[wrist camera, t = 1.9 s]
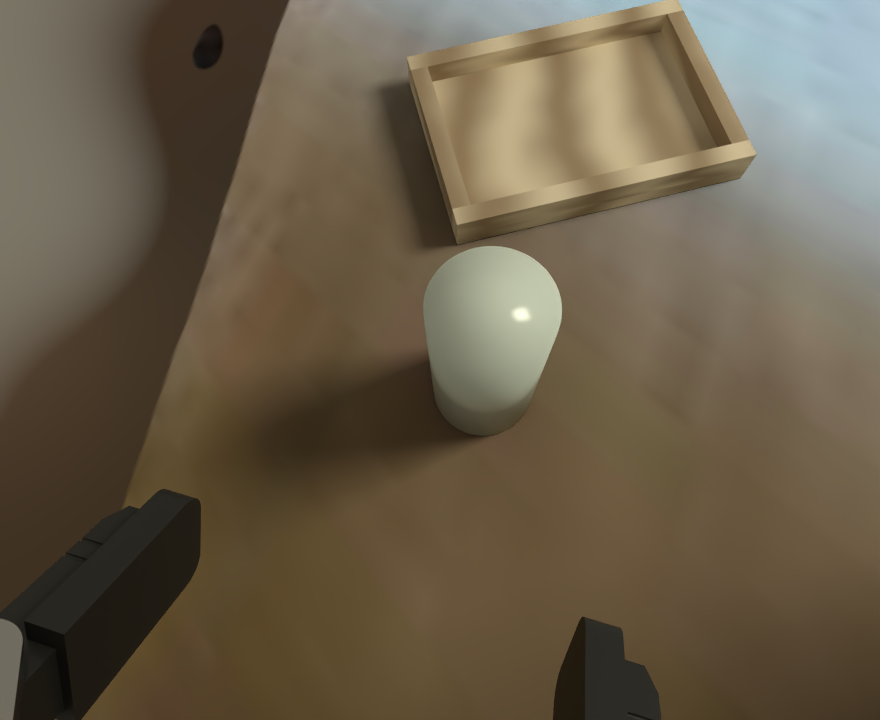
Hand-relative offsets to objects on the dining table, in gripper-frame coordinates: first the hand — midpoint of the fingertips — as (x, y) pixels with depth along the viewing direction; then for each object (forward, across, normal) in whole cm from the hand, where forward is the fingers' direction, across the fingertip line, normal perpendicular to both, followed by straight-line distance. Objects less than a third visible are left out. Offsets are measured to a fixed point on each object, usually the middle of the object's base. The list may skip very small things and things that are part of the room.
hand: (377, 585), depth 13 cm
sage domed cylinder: (+25, 0, +8) cm, 26 cm away
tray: (+39, -1, -6) cm, 40 cm away
